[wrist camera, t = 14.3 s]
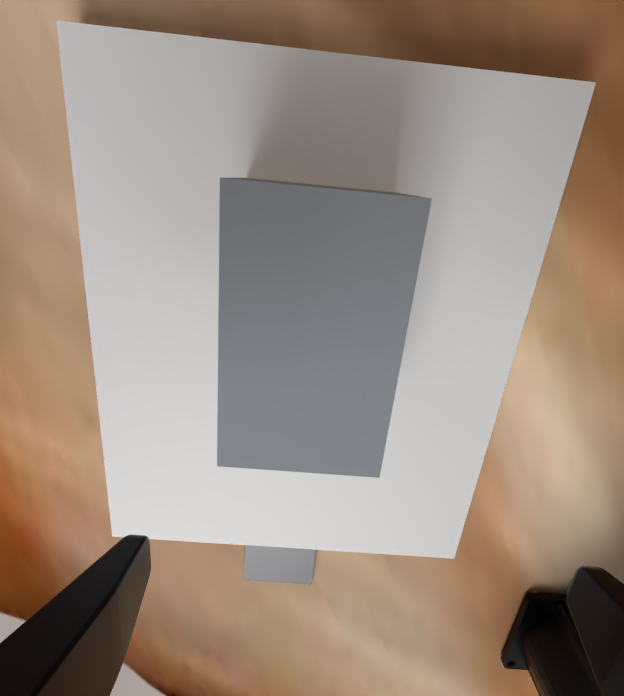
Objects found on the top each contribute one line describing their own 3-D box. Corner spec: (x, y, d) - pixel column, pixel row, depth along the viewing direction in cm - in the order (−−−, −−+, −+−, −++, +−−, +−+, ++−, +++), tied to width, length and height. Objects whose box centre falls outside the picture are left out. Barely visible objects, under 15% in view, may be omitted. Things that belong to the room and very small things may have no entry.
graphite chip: (311, 572, 26) (311, 584, 25) (245, 568, 26) (243, 579, 25) (318, 522, 24) (318, 532, 23) (248, 517, 24) (246, 527, 23)
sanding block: (362, 404, 19) (379, 477, 14) (239, 394, 19) (217, 466, 14) (395, 192, 16) (431, 198, 11) (246, 177, 15) (219, 177, 11)
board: (445, 536, 24) (454, 558, 23) (124, 515, 23) (112, 536, 22) (570, 90, 16) (596, 82, 14) (79, 35, 15) (56, 20, 14)
